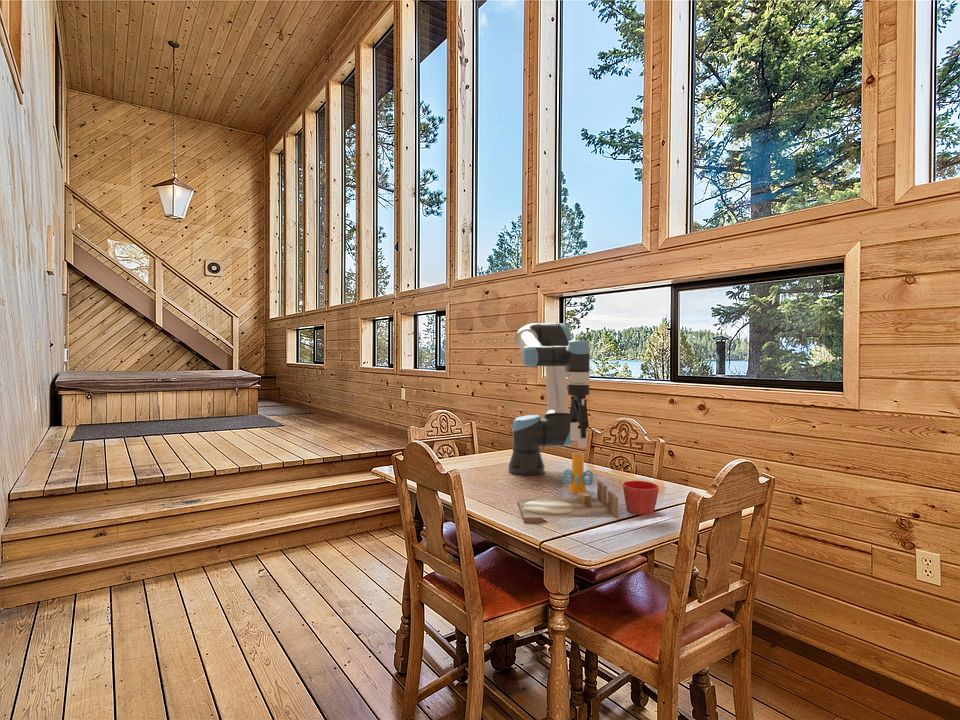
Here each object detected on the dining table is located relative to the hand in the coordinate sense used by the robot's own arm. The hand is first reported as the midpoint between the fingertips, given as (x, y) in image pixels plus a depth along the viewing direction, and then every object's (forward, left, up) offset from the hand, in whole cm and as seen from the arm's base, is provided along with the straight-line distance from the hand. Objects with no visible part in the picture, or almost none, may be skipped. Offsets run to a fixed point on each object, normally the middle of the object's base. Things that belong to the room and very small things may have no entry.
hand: (578, 443), depth 187 cm
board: (+18, -8, -19) cm, 27 cm away
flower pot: (+22, +15, -19) cm, 32 cm away
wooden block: (+14, -1, -17) cm, 22 cm away
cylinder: (0, 0, -19) cm, 19 cm away
